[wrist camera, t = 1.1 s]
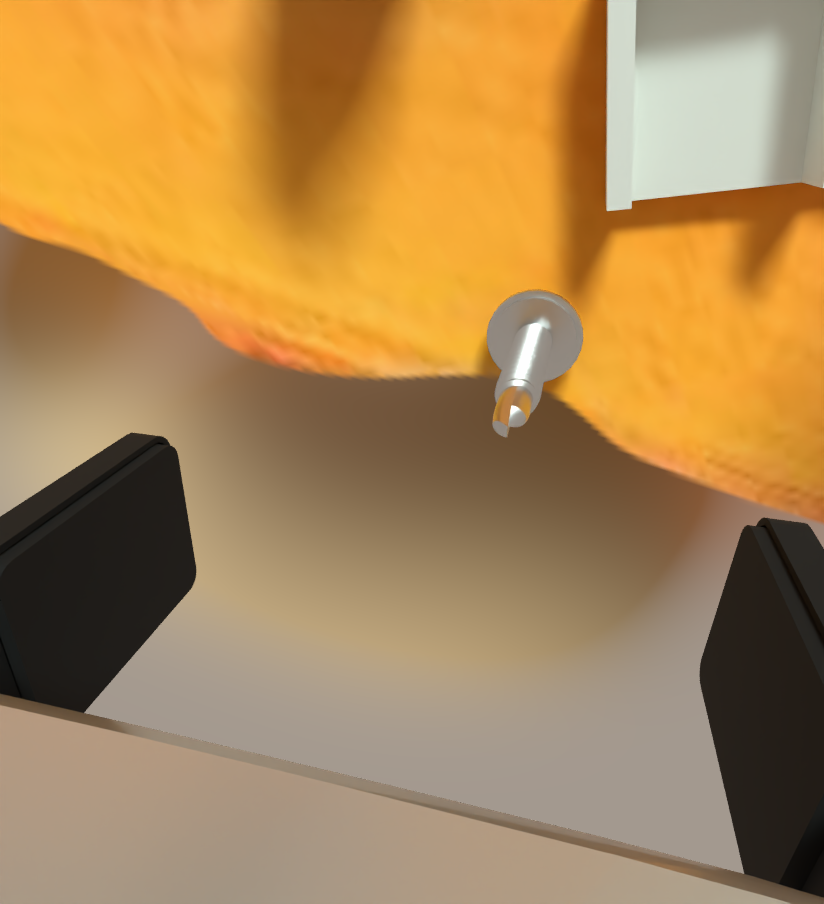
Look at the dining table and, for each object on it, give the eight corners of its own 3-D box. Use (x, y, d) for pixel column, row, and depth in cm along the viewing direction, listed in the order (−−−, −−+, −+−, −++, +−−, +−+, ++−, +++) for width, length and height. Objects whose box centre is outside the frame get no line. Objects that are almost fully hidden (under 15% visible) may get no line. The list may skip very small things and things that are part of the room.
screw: (591, 287, 32) (574, 375, 34) (498, 276, 33) (487, 362, 35) (589, 374, 21) (563, 496, 23) (448, 353, 22) (437, 472, 24)
